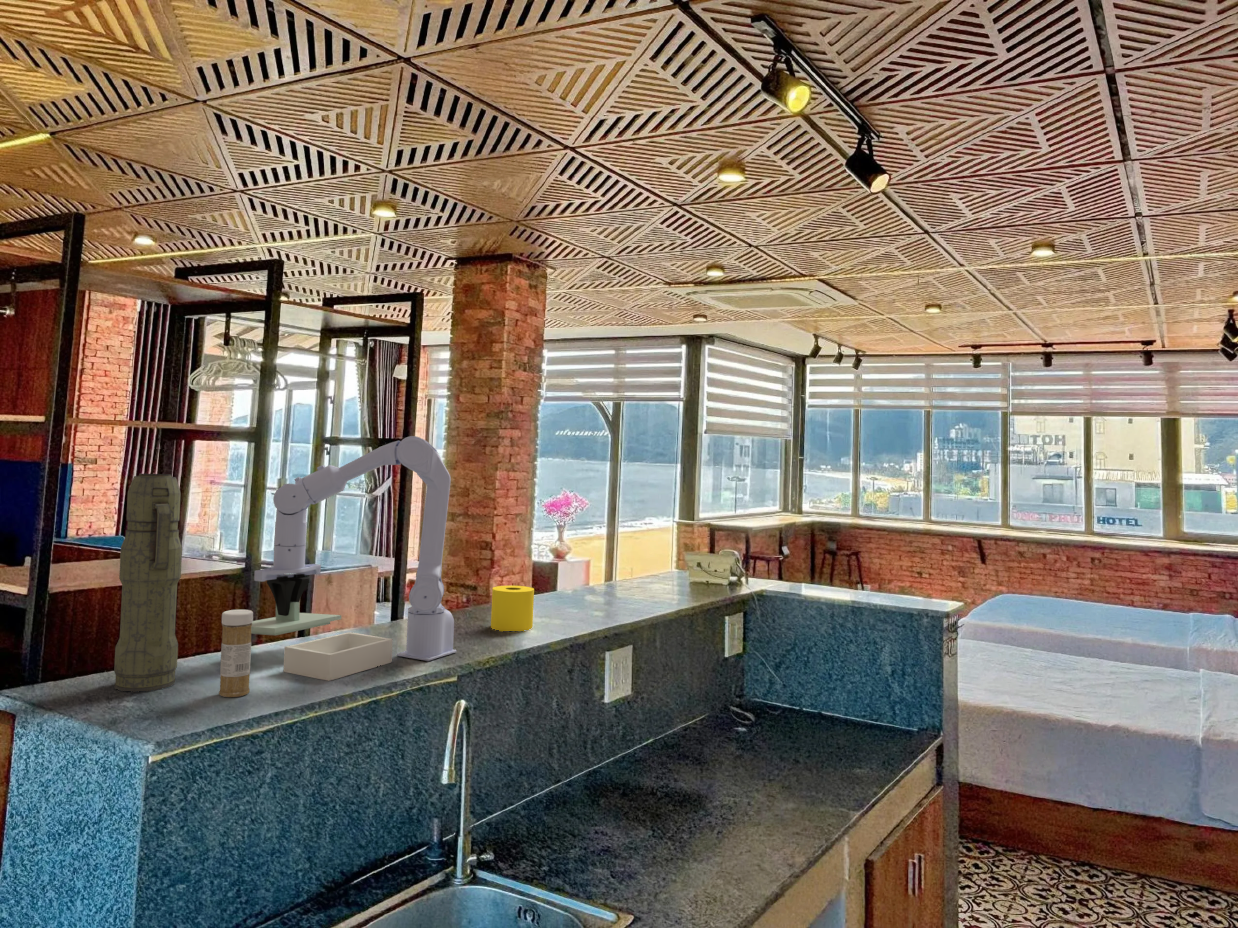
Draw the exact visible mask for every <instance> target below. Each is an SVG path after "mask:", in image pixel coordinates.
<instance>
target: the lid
mask: <svg viewBox="0 0 1238 928" xmlns="http://www.w3.org/2000/svg"><path fill="white" fill-rule="evenodd" d="M339 620H342V614H327V613H311V612H300V601H299V602H290V610H289V614H288V615H287V616H283V615H278V611H277V606H276V605H275V616H274V617H268V618H262V619H256V620H253V622H252V626H251V635H252V634H253V635H263V636H264V635H266V636H279V635H284V634H288V633H289V634H290V633H293V632H298V631H303V630H308V629H314V628H317V627H318V628H319V627H323V626H326V625H331V622H334V621H339Z"/></svg>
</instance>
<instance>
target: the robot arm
mask: <svg viewBox="0 0 1238 928" xmlns="http://www.w3.org/2000/svg"><path fill="white" fill-rule="evenodd" d="M400 465H402V466H404V467H405V468H407V469H409V470H410V471H412V472H414V473H416V474H417V476H418V477H419V478H420V479H421V480H422V482H424V484H425V485H426V491H425V500H424V509H423V521H422V529H421V539H420V548H419V557H418V558H419V559H418V565H417V571H416V574H415V575H416V577H415V582H414V584H413V585H412V587H411V589H410V591H409V593H408V600H409V604H410V607H408V608H407V625H406V626H407V627H406V628H407V629H406V648H405V649H406V650H404V651H401V652H397V653H396V656H397V657H402V658H409V659H413V660H421V661H426V662H429V661H433V660H435V659H438V658H442V657H446V656H448V655H451V654H454V653H457V649H454V636H455V635H454V633H455V619H454V616H453V614H452V613H451V611H449V610H448V609H446V608H445V606H443V604H442V599H443V596H444V593H445V586H444V583H443V580H442V570H443V566H442V564H443V555H444V547H445V538H446V537H445V536H446V527H447V519H448V510H449V509H448V507H449V502H450V501H449V499H450V491H451V490H450V489H451V482H452V480H451V479H452V478H451V474H450V473H449V470H448V469H447V467H446V465H445V464H444V462H443V460H442V458H441V456H440V454H439V452H438V450H437V448H435V447H434V446H433V445H432V444H431V443H430V442H428V440H426V439H424V438H421V437H420V436H414V435H411V436H410V435H409V436H407V437H404V438H403V439H402V440H396V441H392V442H389V443H387V444H384V445H382V446H379V447H378V448H375V449H373V450H371V451H370V452H368V453H365V454H363V455H361V456H360V457H358V458H356V459H354V460H351V461H350V462H348V463H346V464H343V465H342V466H340V467H338V466H336V465H332V464H328V465H327V466H326V465H325V464H322V465H319V466H317V467H316V469H317V470H316V471H314V472H312V473H310V474H308V475H304V476H303V477H302V478H301V476H297V477H295V478H294V483H284V484H283V485H282V486H280V487H279V488H278V489H276V490H275V492H274V495H273V498H272V499H273V504H274V507H275V508H276V515H275V518H276V519H275V522H274V523H275V524H274V525H275V526H274V541H273V543H274V547H273V565H271V567H266V568H262V569H257V570H254V577H253V579H254V581H255V582H266V584H267V585H268V587H269V589H270V590H271V593H272V595H273V598H274V601H275V607H276V606H277V611H278V615H283V616H287V615H288V614H289V610H290V602H299V603H300V600H301V597H302V595H303V593H304V591H305V590H306V588H307V587H308V585H309V583H310V578H311V577H309V575H310V576H311V575H321V571H322V569H321V567H322V564H317V563H311V564H310V563H309V564H308V563H307V564H306V550H307V549H306V546H307V545H306V543H307V525H308V524H307V523H308V522H307V511H308V510H307V509H308V508H309V507H310V506H311V505H316V504H318V503H320V502H322V501H324V500H327V499H329V498H331V497H333V496H335V495H337V494H339V493H341V492H343V491H344V490H345V488H346V485H347V483H348V482H349V481H352V480H353V479H355V478H358V477H360V476H362V475H364V474H367V473H369V472H372V471H373V470H376V469H378V468H380V467H382V466H400ZM307 576H308V577H307Z"/></svg>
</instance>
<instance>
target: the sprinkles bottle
mask: <svg viewBox="0 0 1238 928" xmlns="http://www.w3.org/2000/svg"><path fill="white" fill-rule="evenodd" d="M253 621H254V612H253V611H252V610H250V609H231V610H230V609H229V610H226V611H223V612H222V614H221V626H222V635H221V645H220V647H221V651H220V668H219V669H220V670H219V672H220V673H219V675H220V681H219V691H218V694H219V696H221V697H224V698H240V697H243V696H245V695H248V694H249V693H250V676H251V675H250V673H251V658H252V657H251V656H252V655H251V654H252V634H251V626H252V622H253Z"/></svg>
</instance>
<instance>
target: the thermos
mask: <svg viewBox="0 0 1238 928" xmlns="http://www.w3.org/2000/svg"><path fill="white" fill-rule="evenodd" d="M181 495H182V494H181V490H180V486H179V482H178V479H177V477H175V476H172V474H167V473H165V474H164V473H139V474H138V475H134V476H133V478H132V481H131V482H130V485H129V487H128V491H127V499H126V500H127V502H126V503H127V504H126V522H127V528H126V530H125V537H124V540H123V541H122V543H121V547H120V554H119V555H120V559H119V575H118V576H119V580H120V583H121V587H122V588H121V602H120V603H121V605H120V606H121V607H120V625H119V627H120V628H119V629H120V630H119V639H118V641H117V643H116V645H115V648H114V651H115V652H114V671H113V672H114V674H115V682H114V689H115V690H116V689H118V690H121V691H120V692H123V691H131V692H130V693H140V692H139V691H146V692H152V691H151V690H154V691H158V689H159V690H163V689H162V688H164V689H167V688H169V687H172V686H174V685H175V684H176V678H175V677H176V669H177V667H178V656H179V655H178V654H179V643H178V639H177V637H176V620H177V619H176V617H177V616H176V615H177V597H178V583H179V581H180V579H181V577H182V561H183V560H182V559H183V558H182V557H183V545H182V542H181V539H180V537H179V536H180V530H179V528H178V527H179V526H178V525H179V522H180V514H181V513H180V512H181V511H180V510H181ZM166 687H167V688H166ZM118 690H117V691H118ZM132 691H133V692H132ZM136 691H138V692H136Z"/></svg>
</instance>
